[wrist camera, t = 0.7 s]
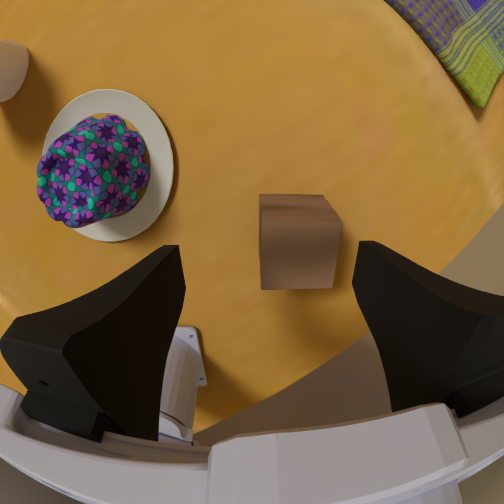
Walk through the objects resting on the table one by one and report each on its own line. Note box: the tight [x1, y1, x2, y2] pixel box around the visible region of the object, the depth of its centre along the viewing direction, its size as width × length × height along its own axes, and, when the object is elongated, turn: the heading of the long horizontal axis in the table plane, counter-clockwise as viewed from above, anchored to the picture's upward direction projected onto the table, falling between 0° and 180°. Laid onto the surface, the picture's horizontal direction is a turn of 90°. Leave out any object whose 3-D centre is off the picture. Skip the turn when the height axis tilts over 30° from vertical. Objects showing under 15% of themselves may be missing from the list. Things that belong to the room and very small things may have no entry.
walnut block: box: [259, 194, 343, 290], centre depth 18 cm, size 4×4×5 cm
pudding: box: [37, 89, 174, 242], centre depth 16 cm, size 12×12×5 cm
